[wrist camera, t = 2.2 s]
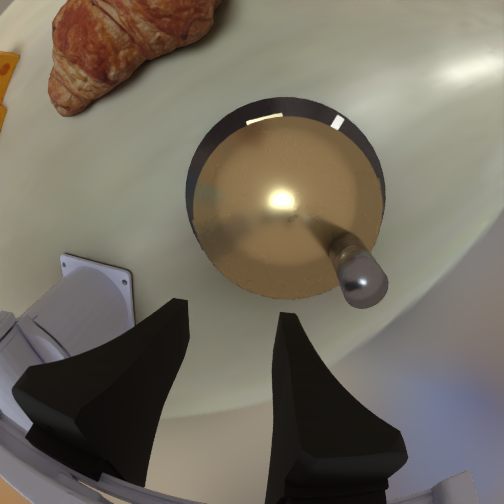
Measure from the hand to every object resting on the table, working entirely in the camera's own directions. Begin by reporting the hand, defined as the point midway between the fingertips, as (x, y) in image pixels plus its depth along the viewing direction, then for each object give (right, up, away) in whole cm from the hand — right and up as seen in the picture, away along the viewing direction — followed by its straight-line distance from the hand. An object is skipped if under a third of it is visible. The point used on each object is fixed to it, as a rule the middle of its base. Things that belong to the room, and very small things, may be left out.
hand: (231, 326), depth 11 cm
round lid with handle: (+3, +6, +6) cm, 9 cm away
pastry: (-7, +21, +2) cm, 22 cm away
